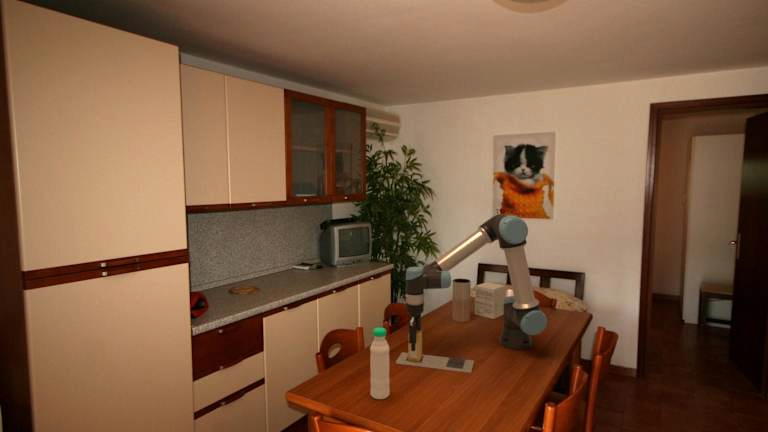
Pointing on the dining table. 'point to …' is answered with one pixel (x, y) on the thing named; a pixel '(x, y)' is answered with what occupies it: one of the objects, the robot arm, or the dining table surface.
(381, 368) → the water bottle
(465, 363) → the white flat board
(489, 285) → the supplement box
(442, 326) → the dining table surface
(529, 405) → the dining table surface
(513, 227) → the robot arm
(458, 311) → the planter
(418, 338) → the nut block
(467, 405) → the dining table surface
